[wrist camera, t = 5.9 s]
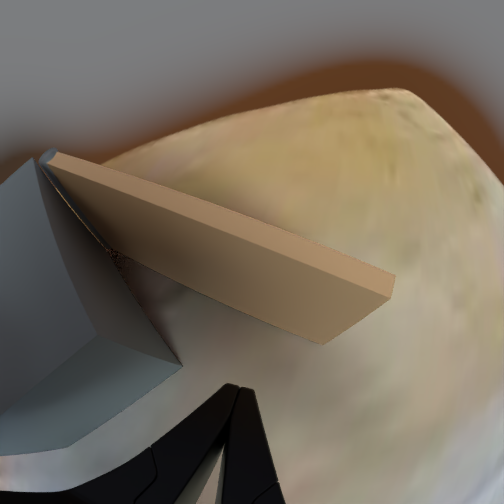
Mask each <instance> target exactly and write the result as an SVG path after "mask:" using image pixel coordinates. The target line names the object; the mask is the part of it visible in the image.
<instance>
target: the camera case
mask: <svg viewBox="0 0 504 504" xmlns="http://www.w3.org/2000/svg"><path fill="white" fill-rule="evenodd" d="M182 367H183V366H182V365H181V363H180V362H179V361H178V360H177V358H176V357H175V356H174V354H173V353H172V352H171V350H170V349H169V347H168V346H167V345H166V343H165V342H164V340H163V339H162V338H161V336H160V335H159V333H158V332H157V331H156V329H155V328H154V326H153V325H152V323H151V322H150V320H149V319H148V317H147V316H146V314H145V313H144V311H143V310H142V308H141V307H140V305H139V304H138V302H137V301H136V299H135V297H134V296H133V294H132V293H131V291H130V289H129V288H128V286H127V285H126V283H125V281H124V280H123V278H122V276H121V275H120V273H119V271H118V269H117V268H116V266H115V264H114V263H113V261H112V259H111V257H110V255H109V254H108V252H107V251H106V249H105V248H104V247H103V246H102V245H101V244H100V243H99V242H98V240H97V239H96V238H95V237H94V236H93V235H92V233H91V232H90V231H89V230H88V229H87V228H86V226H85V225H84V224H83V223H82V222H81V220H80V219H79V218H78V217H77V216H76V214H75V213H74V212H73V211H72V209H71V208H70V207H69V206H68V204H67V203H66V202H65V201H64V199H63V198H62V197H61V195H60V194H59V193H58V192H57V190H56V189H55V188H54V186H53V185H52V184H51V183H50V181H49V180H48V178H47V177H46V176H45V174H44V173H43V171H42V170H41V168H40V167H39V166H38V164H37V163H36V161H35V160H34V158H33V157H32V158H31V159H30V160H29V161H27V162H26V163H25V164H24V165H23V166H21V167H20V168H19V169H18V170H17V171H16V172H15V173H13V174H12V175H11V176H10V177H9V178H8V179H7V180H6V181H5V182H4V183H3V184H2V185H1V186H0V456H8V455H19V454H28V453H36V452H43V451H49V450H56V449H61V448H67V447H69V446H70V445H72V444H73V443H75V442H76V441H78V440H79V439H81V438H82V437H84V436H86V435H87V434H89V433H90V432H92V431H93V430H95V429H96V428H98V427H99V426H101V425H102V424H104V423H105V422H106V421H108V420H109V419H111V418H112V417H114V416H115V415H117V414H118V413H120V412H121V411H122V410H124V409H125V408H127V407H128V406H130V405H131V404H132V403H134V402H135V401H137V400H138V399H139V398H141V397H142V396H144V395H145V394H146V393H148V392H149V391H151V390H152V389H153V388H155V387H156V386H157V385H159V384H160V383H161V382H163V381H164V380H166V379H167V378H168V377H170V376H171V375H172V374H174V373H175V372H176V371H178V370H179V369H180V368H182Z"/></svg>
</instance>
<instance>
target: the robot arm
mask: <svg viewBox="0 0 504 504" xmlns="http://www.w3.org/2000/svg"><path fill="white" fill-rule="evenodd" d="M223 447H224V449H223ZM222 449H223V454H222V461H221V467H220V474H219V481H218V488H217V494H216V501H215V504H286V503H285V500H284V497H283V494H282V491H281V488H280V484H279V482H278V478H277V474H276V470H275V467H274V463H273V460H272V456H271V452H270V449H269V445H268V441H267V438H266V434H265V430H264V426H263V423H262V419H261V415H260V411H259V407H258V403H257V399H256V395H255V392H254V390H253V389H250V388H246V387H239V386H238V385H234V384H230V383H226V384H225V385H223V386H222V387H221V388H220V389H219V390H218V391H217V392H216V393H214V394H213V395H212V396H211V397H210V398H209V399H207V400H206V401H205V402H204V403H203V404H202V405H200V406H199V407H198V408H197V409H196V410H195V411H193V412H192V413H191V414H190V415H189V416H187V417H186V418H185V419H184V420H182V421H181V422H180V423H179V424H178V425H176V426H175V427H174V428H173V429H171V430H170V431H169V432H167V433H166V434H165V435H164V436H162V437H161V438H160V439H159V440H157V441H156V442H155V443H153V444H152V445H151V447H148V448H146V449H145V450H144V451H142V452H141V453H140V454H138V455H137V456H135V457H134V458H132V459H131V460H129V461H128V462H126V463H125V464H123V465H121V466H119V467H117V468H115V469H114V470H112V471H110V472H108V473H106V474H104V475H101V476H99V477H97V478H95V479H93V480H91V481H88V482H86V483H84V484H82V485H79V486H77V487H74V488H71V489H68V490H64V491H59V492H13V491H0V504H196V502H197V500H198V498H199V496H200V494H201V493H202V491H203V489H204V487H205V485H206V483H207V481H208V479H209V477H210V475H211V473H212V471H213V468H214V466H215V464H216V462H217V460H218V458H219V456H220V454H221V452H222Z"/></svg>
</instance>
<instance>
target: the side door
mask: <svg viewBox="0 0 504 504" xmlns="http://www.w3.org/2000/svg"><path fill="white" fill-rule="evenodd" d="M39 164H40V166H41V167H42V169H43V170H44V172H45V173H46V174H47V176H48V177H49V179H50V180H51V181H52V183H53V184H54V185H55V187H56V188H57V189H58V191H59V192H60V193H61V195H62V196H63V197H64V198H65V200H66V201H67V202H68V204H69V205H70V206H71V207H72V209H73V210H74V211H75V212H76V214H77V215H78V216H79V217H80V219H81V220H82V221H83V222H84V223H85V225H86V226H87V227H88V228H89V229H90V231H91V232H92V233H93V234H94V235H95V236H96V238H97V239H98V240H99V241H100V242H101V243H102V244H103V246H104V247H105V248H107V249H111V248H112V249H114V250H116V251H118V252H120V253H122V254H123V255H125V256H127V257H129V258H131V259H133V260H135V261H137V262H139V263H141V264H143V265H145V266H146V267H148V268H150V269H152V270H154V271H156V272H158V273H160V274H162V275H164V276H166V277H168V278H170V279H172V280H174V281H176V282H179V283H181V284H183V285H185V286H187V287H189V288H191V289H193V290H195V291H197V292H199V293H202V294H204V295H206V296H208V297H210V298H212V299H214V300H217V301H219V302H221V303H223V304H225V305H228V306H230V307H232V308H234V309H237V310H239V311H241V312H243V313H246V314H248V315H250V316H252V317H255V318H257V319H259V320H262V321H264V322H266V323H269V324H271V325H274V326H276V327H278V328H281V329H283V330H286V331H288V332H291V333H293V334H295V335H298V336H300V337H303V338H305V339H308V340H311V341H313V342H316V343H318V344H321V345H324V344H326V343H327V342H329V341H330V340H332V339H333V338H335V337H337V336H338V335H340V334H341V333H343V332H344V331H346V330H347V329H349V328H350V327H352V326H353V325H355V324H356V323H357V322H359V321H360V320H362V319H363V318H365V317H366V316H367V315H369V314H370V313H372V312H373V311H374V310H376V309H377V308H379V307H380V306H381V305H383V304H384V303H385V302H387V301H388V300H389V299H391V295H392V291H393V287H394V282H395V277H396V275H394V274H391V273H389V272H387V271H384V270H382V269H380V268H377V267H375V266H372V265H370V264H368V263H365V262H363V261H360V260H358V259H356V258H353V257H351V256H348V255H346V254H343V253H341V252H339V251H336V250H334V249H331V248H329V247H326V246H324V245H321V244H319V243H316V242H314V241H311V240H309V239H306V238H303V237H301V236H298V235H296V234H293V233H291V232H288V231H286V230H283V229H280V228H278V227H275V226H272V225H270V224H267V223H265V222H262V221H259V220H257V219H254V218H251V217H249V216H246V215H243V214H241V213H238V212H235V211H232V210H230V209H227V208H224V207H222V206H219V205H216V204H213V203H210V202H208V201H205V200H202V199H199V198H196V197H194V196H191V195H188V194H185V193H182V192H179V191H176V190H174V189H171V188H168V187H165V186H162V185H159V184H156V183H153V182H150V181H147V180H144V179H141V178H138V177H135V176H132V175H129V174H126V173H123V172H120V171H117V170H114V169H111V168H108V167H104V166H101V165H98V164H95V163H92V162H89V161H85V160H82V159H79V158H76V157H72V156H69V155H66V154H62V153H59V152H58V150H57V149H56V148H51V149H49V150H47V151H46V152H45V153H44V154H43V155H42V156H41V157H40V159H39Z"/></svg>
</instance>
